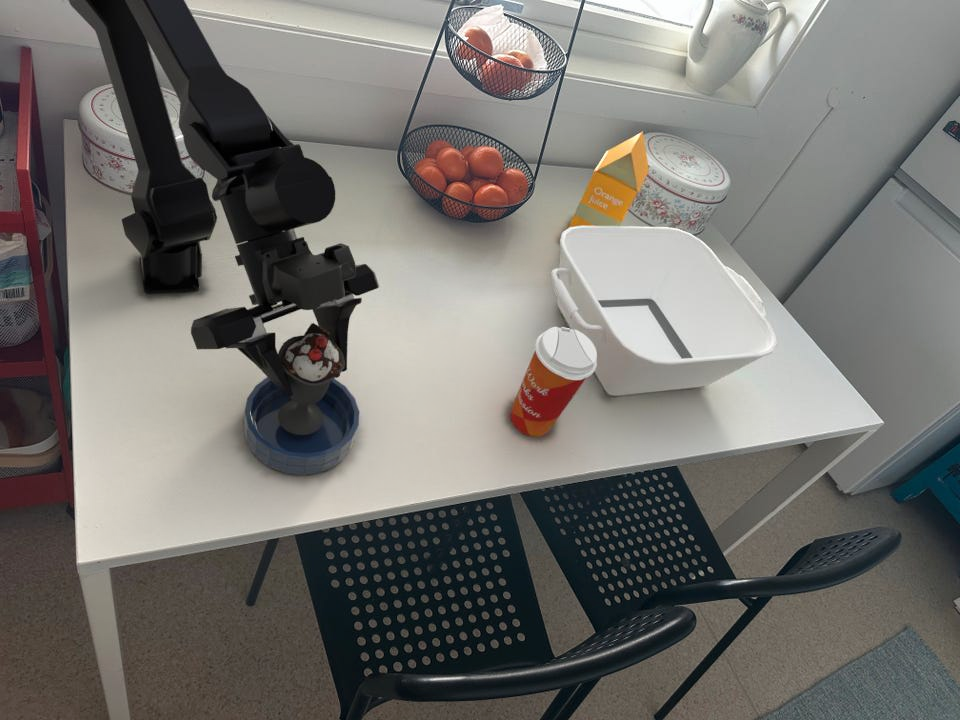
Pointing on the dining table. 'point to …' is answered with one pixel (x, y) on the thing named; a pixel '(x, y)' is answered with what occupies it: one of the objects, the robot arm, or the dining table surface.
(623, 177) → the orange juice
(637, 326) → the tub
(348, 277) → the robot arm
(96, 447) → the dining table surface
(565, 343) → the paper cup
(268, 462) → the bowl
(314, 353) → the sundae
